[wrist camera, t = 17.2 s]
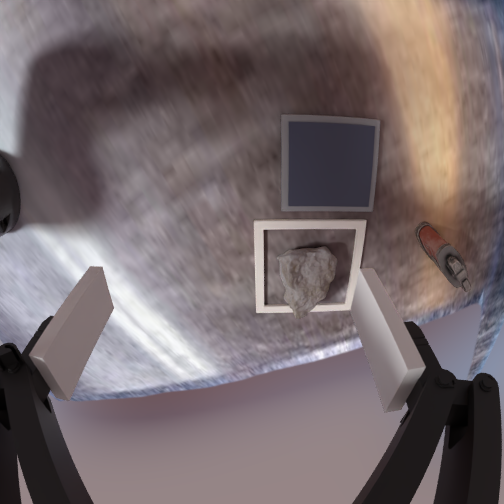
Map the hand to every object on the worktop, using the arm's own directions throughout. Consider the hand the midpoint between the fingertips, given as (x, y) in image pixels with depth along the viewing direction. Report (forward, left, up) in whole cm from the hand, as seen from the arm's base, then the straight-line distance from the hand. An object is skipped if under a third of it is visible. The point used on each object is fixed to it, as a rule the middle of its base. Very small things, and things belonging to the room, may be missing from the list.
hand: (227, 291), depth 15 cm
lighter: (+27, -10, -25) cm, 39 cm away
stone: (+7, -14, -26) cm, 30 cm away
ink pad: (+10, +1, -25) cm, 27 cm away
